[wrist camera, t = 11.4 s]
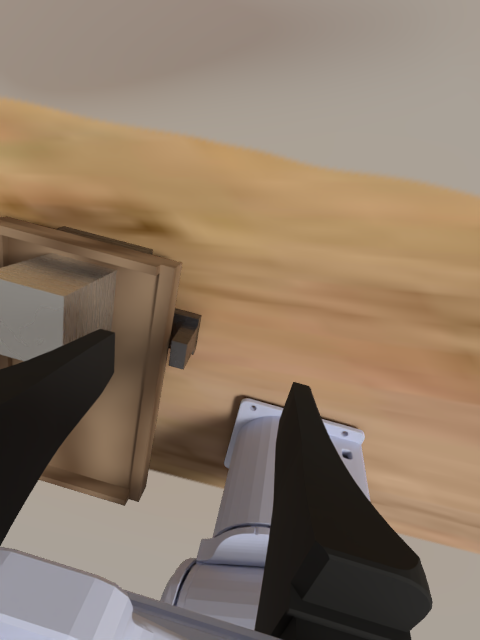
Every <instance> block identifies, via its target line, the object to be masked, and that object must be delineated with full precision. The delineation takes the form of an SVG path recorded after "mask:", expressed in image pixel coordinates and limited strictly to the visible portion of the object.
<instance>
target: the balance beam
mask: <svg viewBox="0 0 480 640" xmlns="http://www.w3.org/2000/svg"><path fill="white" fill-rule="evenodd" d="M50 253H54V254H57V255H61V256H65V257H69V258H72V259H76V260H80V261H84V262H87V263H91V264H95V265H99V266H103V267H106V268H110V269H114V270H117V273H116V285H115V296H114V308H113V319H112V331H111V332H115V362H114V374H113V376H112V377H111V379H110V381H109V383H108V384H107V386H106V387H105V389H104V391H103V392H102V394H101V395H100V396H99V398H98V399H97V400H96V402H95V403H94V404H93V405H92V407H91V408H90V409H89V410H88V412H87V413H86V414H85V415H84V417H83V418H82V419H81V420H80V421H79V423H78V424H77V425H76V426H75V428H74V429H73V430H72V431H71V433H70V434H69V435H68V436H67V438H66V439H65V440H64V442H63V443H62V444H61V446H60V447H59V449H58V450H57V452H56V453H55V455H54V456H53V458H52V459H51V461H50V462H49V464H48V465H47V467H46V468H45V470H44V472H43V473H42V475H41V476H40V478H39V480H42V481H45V482H48V483H51V484H55V485H58V486H62V487H65V488H68V489H71V490H74V491H78V492H81V493H84V494H88V495H91V496H95V497H98V498H101V499H104V500H108V501H111V502H115V503H118V504H121V505H124V506H125V504H126V502H127V501H128V499H131V500H134V501H137V502H139V500H140V498H141V496H142V493H143V492H144V489H145V487H146V482H147V476H148V470H149V464H150V458H151V452H152V446H153V440H154V434H155V427H156V421H157V415H158V409H159V403H160V397H161V391H162V385H163V378H164V372H165V366H166V360H167V354H168V348H169V342H170V336H171V330H172V323H173V317H174V311H175V305H176V299H177V293H178V287H179V281H180V275H181V268H182V263H181V262H177V261H173V260H170V259H166V258H162V257H158V256H154V255H151V254H147V253H143V252H139V251H135V250H132V249H128V248H124V247H120V246H116V245H113V244H109V243H105V242H101V241H97V240H94V239H90V238H86V237H82V236H78V235H75V234H71V233H67V232H63V231H59V230H55V229H52V228H48V227H44V226H40V225H36V224H33V223H29V222H25V221H21V220H17V219H14V218H10V217H1V218H0V268H2V267H5V266H9V265H12V264H16V263H19V262H22V261H26V260H29V259H33V258H36V257H40V256H43V255H46V254H50ZM21 362H24V361H22V360H18V359H15V358H11V357H8V356H4V355H1V354H0V369H3V368H6V367H9V366H12V365H15V364H18V363H21Z"/></svg>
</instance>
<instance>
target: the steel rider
mask: <svg viewBox="0 0 480 640" xmlns="http://www.w3.org/2000/svg"><path fill="white" fill-rule="evenodd" d="M116 273H117V270H114V269H110V268H106V267H103V266H99V265H95V264H91V263H87V262H84V261H80V260H76V259H72V258H69V257H65V256H61V255H57V254H54V253H50V254H46V255H43V256H40V257H36V258H33V259H29V260H26V261H22V262H19V263H16V264H12V265H9V266H5V267H2V268H0V354H1V355H4V356H8V357H11V358H15V359H18V360H22V361H27V360H29V359H32V358H34V357H37V356H39V355H42V354H44V353H47V352H49V351H52V350H54V349H56V348H58V347H61V346H63V345H65V344H67V343H70V342H72V341H74V340H76V339H78V338H80V337H83V336H85V335H87V334H89V333H91V332H94V331H96V330H99V329H104V330H107V331H112V319H113V308H114V296H115V285H116Z"/></svg>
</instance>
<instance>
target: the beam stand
mask: <svg viewBox="0 0 480 640" xmlns="http://www.w3.org/2000/svg"><path fill="white" fill-rule="evenodd" d="M57 230H59V231H63V232H67V233H71V234H75V235H78V236H82V237H86V238H90V239H94V240H97V241H101V242H105V243H109V244H113V245H116V246H120V247H124V248H128V249H132V250H135V251H139V252H143V253H147V254H151V255H152V253H153V249H149V248H145V247H141V246H137V245H133V244H130V243H126V242H122V241H118V240H114V239H111V238H107V237H103V236H99V235H95V234H92V233H88V232H84V231H80V230H76V229H72V228H69V227H65V226H64V227H62V228H59V229H57ZM200 321H201V315H198V314H194V313H191V312H187V311H183V310H179V309H176V308H175V311H174V317H173V323H172V330H171V336H170V342H169V348H170V349H171V352H170V360H169V366H172V367H176V368H180V369H184V368H185V366H186V364H187V362H188V360H189V358H190V356H191V354H192V355H193V354H194V352H195V350H196V344H197V338H198V332H199V327H200Z"/></svg>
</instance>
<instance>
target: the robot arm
mask: <svg viewBox="0 0 480 640" xmlns="http://www.w3.org/2000/svg"><path fill="white" fill-rule="evenodd" d="M114 362H115V332H111V331H107V330H104V329H99V330H96V331H94V332H91V333H89V334H87V335H85V336H83V337H80V338H78V339H76V340H74V341H72V342H70V343H67V344H65V345H63V346H61V347H58V348H56V349H54V350H52V351H49V352H47V353H44V354H42V355H39V356H37V357H34V358H32V359H29V360H27V361H24V362H21V363H18V364H15V365H12V366H9V367H6V368H3V369H0V546H1V543H2V542H3V540H4V538H5V536H6V535H7V533H8V531H9V529H10V527H11V525H12V524H13V522H14V520H15V518H16V516H17V515H18V513H19V511H20V510H21V508H22V506H23V505H24V503H25V501H26V499H27V498H28V496H29V494H30V493H31V491H32V489H33V488H34V486H35V484H36V483H37V481H38V480H39V478H40V476H41V475H42V473H43V472H44V470H45V468H46V467H47V465H48V464H49V462H50V461H51V459H52V458H53V456H54V455H55V453H56V452H57V450H58V449H59V447H60V446H61V444H62V443H63V442H64V440H65V439H66V438H67V436H68V435H69V434H70V433H71V431H72V430H73V429H74V428H75V426H76V425H77V424H78V423H79V421H80V420H81V419H82V418H83V417H84V415H85V414H86V413H87V412H88V410H89V409H90V408H91V407H92V405H93V404H94V403H95V402H96V400H97V399H98V398H99V396H100V395H101V394H102V392H103V391H104V389H105V387H106V386H107V384H108V383H109V381H110V379H111V377H112V376H113V374H114ZM252 406H256V407H252ZM343 431H346V432H343ZM364 439H365V435H364V432H363V431H362V430H360V429H356V428H352V427H349V426H345V425H342V424H338V423H335V422H331V421H327V420H324V419H322V418H321V416H320V414H319V411H318V408H317V406H316V403H315V400H314V398H313V395H312V392H311V389H310V387H309V386H307V385H303V384H299V383H296V382H293V384H292V387H291V390H290V392H289V395H288V398H287V400H286V403H285V406H284V408H281V407H278V406H274V405H270V404H267V403H263V402H260V401H256V400H253V399H249V398H244V399H242V401H241V404H240V407H239V411H238V414H237V418H236V421H235V425H234V429H233V432H232V436H231V439H230V443H229V446H228V450H227V454H226V457H225V461H224V465H225V467H227V468H229V470H228V475H227V479H226V483H225V487H224V491H223V496H222V500H221V504H220V508H219V513H218V517H217V521H216V525H215V529H214V534H213V538H210V539H202V540H201V543H200V547H199V551H198V555H197V558H189V559H187V560H185V561H184V562H182V563H181V564H180V566H179V567H178V568H177V570H176V571H175V573H174V574H173V576H172V577H171V578H170V580H169V582H168V583H167V585H166V587H165V589H164V592H163V595H162V597H161V600H160V601H158V600H155V599H152V598H149V597H145V596H142V595H139V594H136V593H133V592H130V591H127V590H123V589H122V588H120V587H119V586H118V585H117V584H115V583H114V582H111V581H109V580H107V579H105V578H102V577H100V576H98V575H95V574H92V573H88V572H85V571H82V570H79V569H76V568H72V567H69V566H66V565H63V564H60V563H57V562H53V561H50V560H47V559H44V558H40V557H37V556H34V555H31V554H28V553H24V552H21V551H18V550H15V549H9V548H4V547H0V640H411V636H410V630H411V629H412V628H413V627H415V626H416V625H417V624H418V623H419V622H420V621H421V620H423V619H424V618H425V616H426V615H427V614H428V613H429V611H430V610H431V609H432V598H431V594H430V590H429V586H428V583H427V579H426V575H425V573H424V570H423V567H422V565H421V561H420V558H419V557H418V556H417V555H416V553H415V552H414V551H413V550H412V549H411V548H410V547H409V546H408V545H407V544H406V543H405V542H404V541H403V540H402V539H401V538H400V537H399V535H398V534H397V533H396V532H395V531H394V530H393V529H392V528H391V527H390V526H389V524H388V523H387V522H386V521H385V520H384V518H383V517H382V516H381V515H380V514H379V513H378V511H377V510H376V509H375V508H374V506H373V505H372V504H371V502H370V496H369V490H368V484H367V478H366V471H365V465H364V459H363V453H362V447H361V444H362V442H363V441H364Z"/></svg>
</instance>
